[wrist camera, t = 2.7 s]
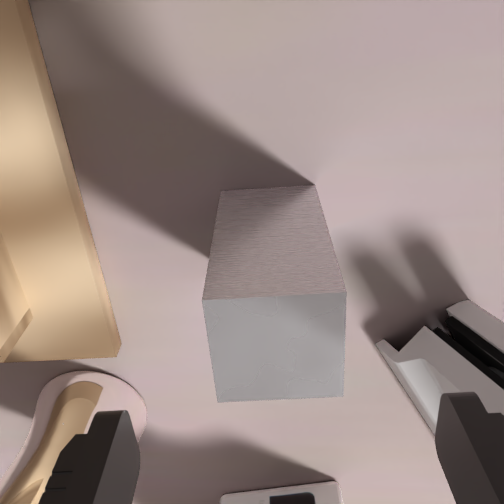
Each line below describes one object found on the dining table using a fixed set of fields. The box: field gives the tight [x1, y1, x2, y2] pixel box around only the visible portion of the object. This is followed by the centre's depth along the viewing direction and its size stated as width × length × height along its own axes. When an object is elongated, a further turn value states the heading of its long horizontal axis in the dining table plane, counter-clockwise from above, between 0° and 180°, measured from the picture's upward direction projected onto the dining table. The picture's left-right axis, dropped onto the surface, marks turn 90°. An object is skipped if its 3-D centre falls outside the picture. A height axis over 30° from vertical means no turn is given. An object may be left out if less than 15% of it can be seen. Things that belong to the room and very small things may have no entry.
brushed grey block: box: [202, 185, 347, 402], centre depth 17 cm, size 4×4×8 cm
